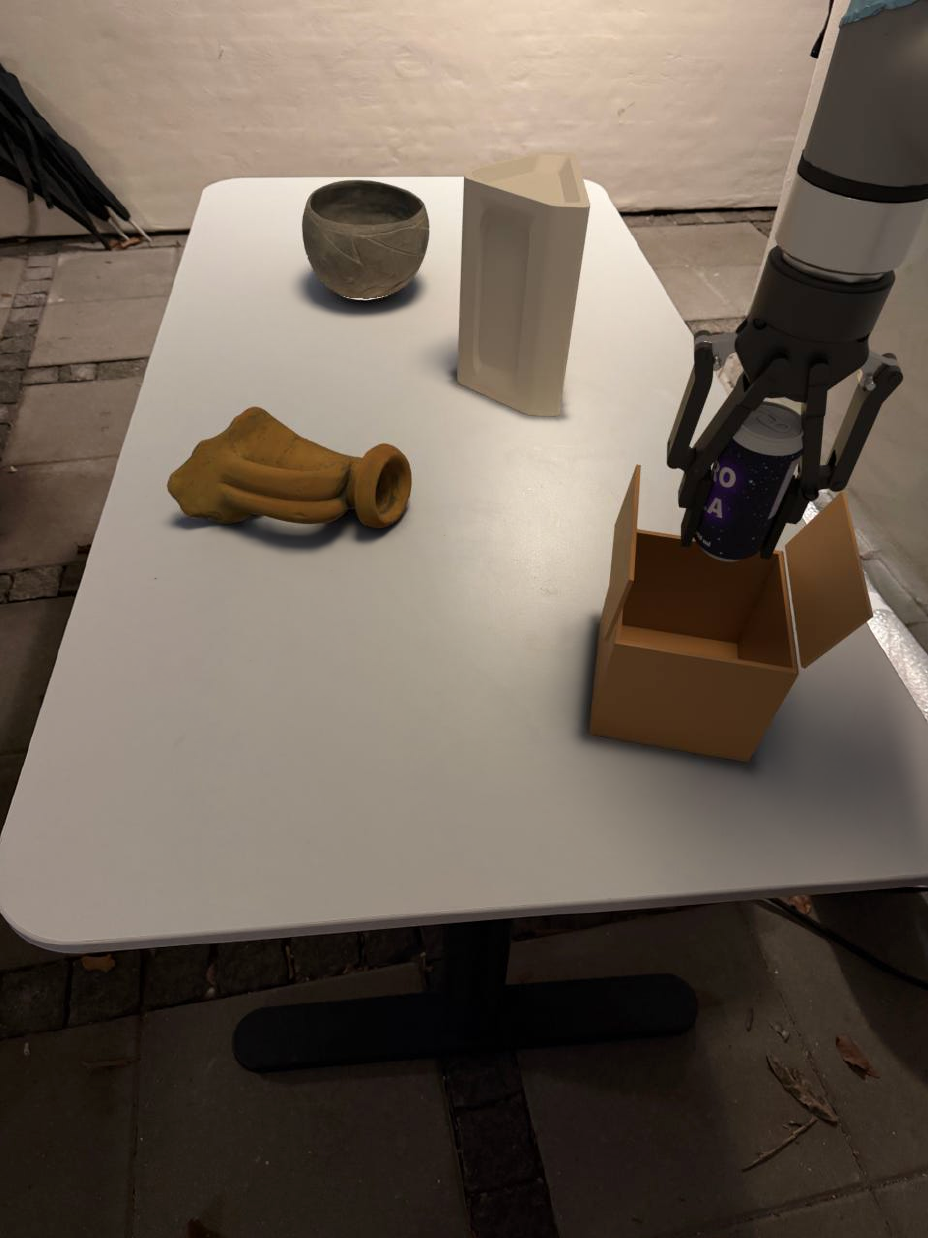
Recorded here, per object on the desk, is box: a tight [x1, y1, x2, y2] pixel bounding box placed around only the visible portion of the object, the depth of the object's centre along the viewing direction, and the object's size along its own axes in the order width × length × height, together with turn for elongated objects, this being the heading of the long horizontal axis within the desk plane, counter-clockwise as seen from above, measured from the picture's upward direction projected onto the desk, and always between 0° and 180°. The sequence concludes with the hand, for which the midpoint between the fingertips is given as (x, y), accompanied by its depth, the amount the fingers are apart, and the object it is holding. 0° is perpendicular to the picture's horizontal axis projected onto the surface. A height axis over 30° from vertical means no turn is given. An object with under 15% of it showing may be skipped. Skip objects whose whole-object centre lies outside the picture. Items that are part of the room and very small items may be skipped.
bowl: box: [301, 179, 431, 299], centre depth 129 cm, size 21×21×15 cm
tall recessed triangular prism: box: [456, 151, 591, 417], centre depth 106 cm, size 19×15×28 cm
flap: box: [784, 490, 875, 670], centre depth 65 cm, size 7×15×1 cm
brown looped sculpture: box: [166, 406, 413, 529], centre depth 90 cm, size 18×13×22 cm
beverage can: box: [693, 400, 804, 562], centre depth 60 cm, size 6×6×12 cm
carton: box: [588, 464, 800, 763], centre depth 71 cm, size 16×15×21 cm
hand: (724, 541), depth 64 cm, fingers closed on beverage can, 6 cm apart
